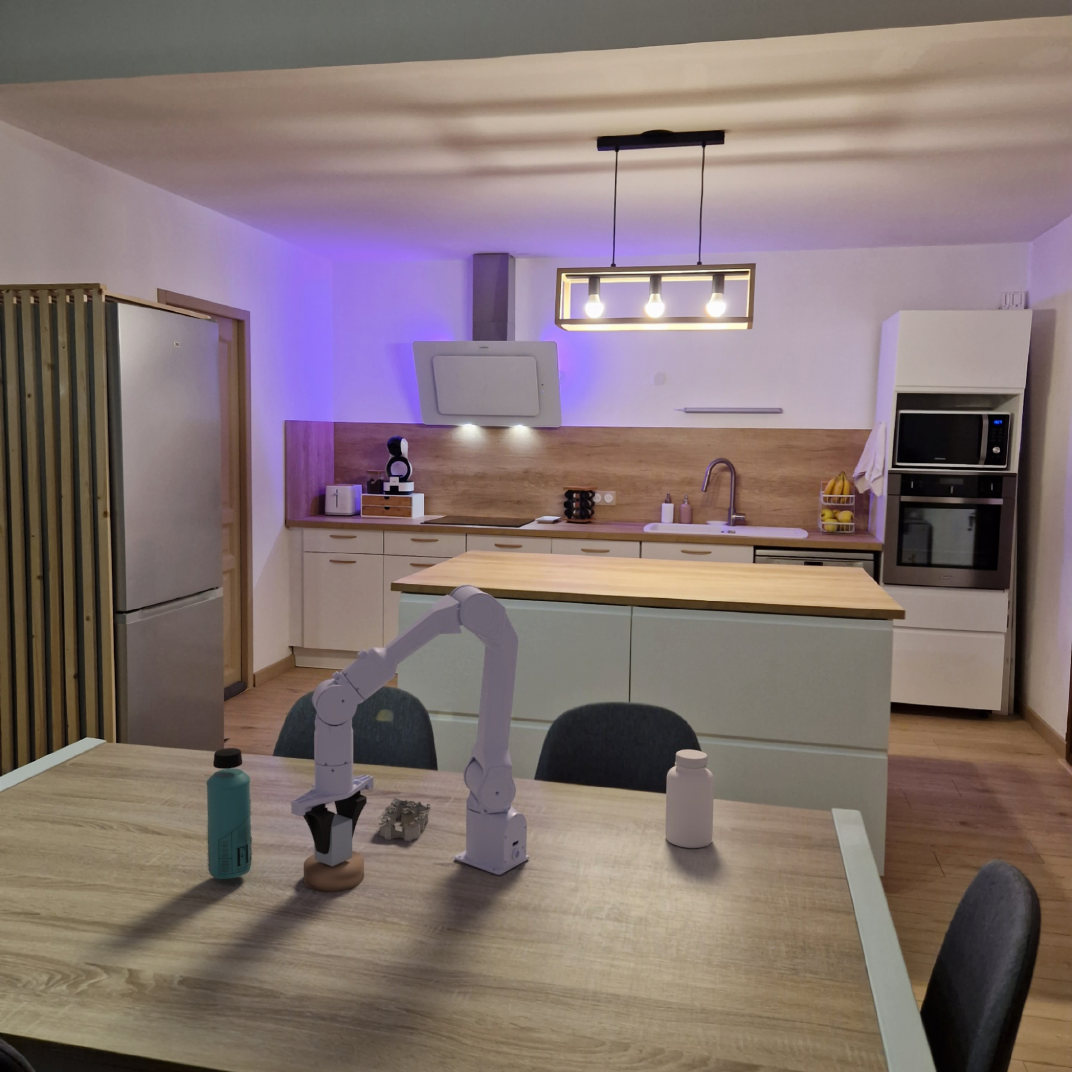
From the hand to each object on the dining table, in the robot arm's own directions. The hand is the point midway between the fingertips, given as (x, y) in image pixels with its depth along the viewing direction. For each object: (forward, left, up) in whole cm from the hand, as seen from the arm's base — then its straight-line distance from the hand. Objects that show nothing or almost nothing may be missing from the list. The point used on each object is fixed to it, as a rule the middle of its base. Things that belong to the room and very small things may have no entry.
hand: (334, 847), depth 141 cm
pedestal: (0, 0, -5) cm, 5 cm away
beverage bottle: (+12, +10, -5) cm, 16 cm away
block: (0, 0, -2) cm, 2 cm away
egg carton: (+5, -20, -5) cm, 22 cm away
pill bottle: (-36, -47, -5) cm, 59 cm away
